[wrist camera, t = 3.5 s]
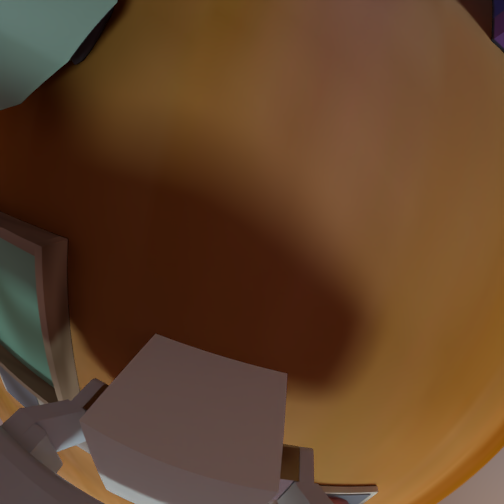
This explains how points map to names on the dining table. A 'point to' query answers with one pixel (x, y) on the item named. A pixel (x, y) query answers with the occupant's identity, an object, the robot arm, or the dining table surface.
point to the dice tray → (35, 311)
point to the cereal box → (498, 23)
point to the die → (189, 428)
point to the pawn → (338, 500)
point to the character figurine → (44, 40)
